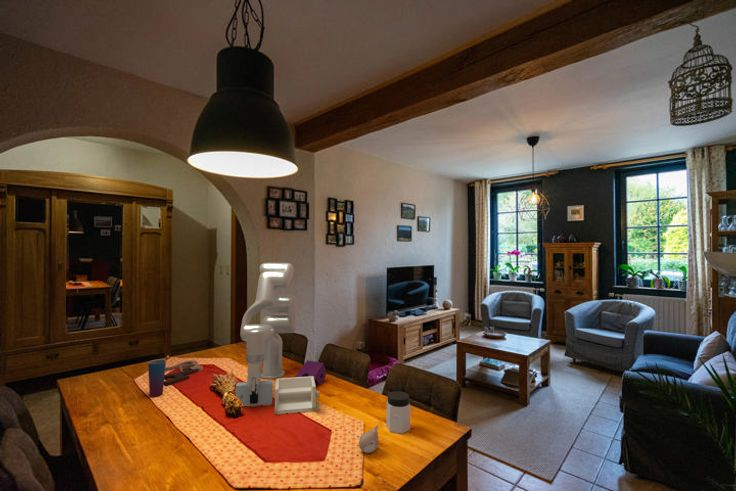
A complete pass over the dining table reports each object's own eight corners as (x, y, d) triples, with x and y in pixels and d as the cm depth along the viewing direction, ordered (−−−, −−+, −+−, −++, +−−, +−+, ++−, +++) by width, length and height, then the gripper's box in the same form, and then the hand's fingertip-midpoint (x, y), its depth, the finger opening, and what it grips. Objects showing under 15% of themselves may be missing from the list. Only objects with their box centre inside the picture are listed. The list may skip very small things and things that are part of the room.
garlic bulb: (376, 457, 107) (377, 432, 108) (357, 455, 108) (357, 430, 109) (379, 446, 114) (379, 422, 114) (360, 444, 115) (361, 420, 115)
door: (236, 404, 144) (237, 382, 144) (272, 401, 147) (272, 380, 148) (235, 408, 140) (235, 386, 140) (271, 405, 143) (272, 384, 143)
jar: (383, 431, 124) (384, 398, 124) (389, 420, 131) (389, 389, 132) (407, 435, 121) (408, 401, 121) (411, 424, 129) (412, 392, 129)
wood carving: (165, 387, 162) (215, 374, 180) (165, 383, 162) (215, 370, 180) (147, 373, 180) (193, 363, 198) (147, 369, 181) (193, 359, 198)
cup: (143, 396, 150) (144, 362, 150) (158, 391, 156) (159, 358, 157) (154, 399, 147) (155, 364, 148) (168, 393, 154) (169, 360, 154)
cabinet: (275, 401, 147) (276, 378, 147) (316, 398, 151) (317, 375, 151) (274, 416, 133) (275, 391, 134) (319, 412, 137) (320, 387, 138)
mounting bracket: (308, 405, 158) (327, 376, 173) (304, 391, 154) (323, 362, 170) (291, 401, 162) (310, 373, 177) (286, 387, 158) (307, 360, 174)
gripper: (248, 352, 152) (247, 394, 151) (243, 364, 136) (242, 410, 135) (265, 351, 153) (264, 392, 153) (263, 363, 137) (262, 409, 137)
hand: (254, 400), depth 144 cm, fingers closed on door, 3 cm apart
